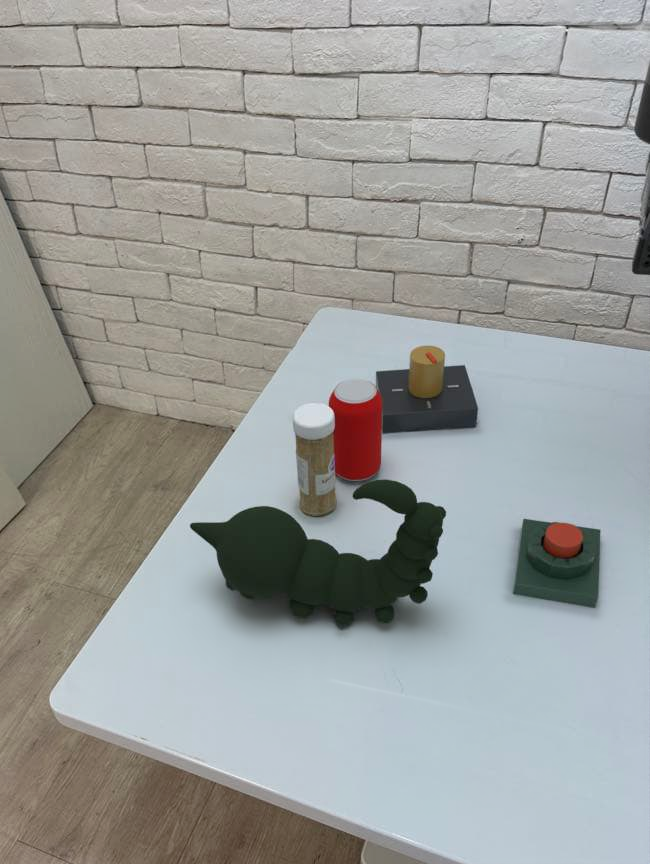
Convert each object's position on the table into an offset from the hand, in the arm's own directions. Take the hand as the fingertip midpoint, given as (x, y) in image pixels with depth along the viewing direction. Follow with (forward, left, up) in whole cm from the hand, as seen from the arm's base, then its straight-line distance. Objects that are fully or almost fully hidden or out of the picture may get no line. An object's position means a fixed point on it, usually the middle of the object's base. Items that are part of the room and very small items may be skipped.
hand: (643, 270), depth 79 cm
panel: (+18, -14, -25) cm, 34 cm away
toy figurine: (+34, +19, -25) cm, 46 cm away
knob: (+18, -14, -22) cm, 32 cm away
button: (+8, +16, -22) cm, 28 cm away
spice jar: (+33, +4, -25) cm, 42 cm away
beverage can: (+28, -2, -25) cm, 38 cm away
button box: (+8, +16, -25) cm, 31 cm away
